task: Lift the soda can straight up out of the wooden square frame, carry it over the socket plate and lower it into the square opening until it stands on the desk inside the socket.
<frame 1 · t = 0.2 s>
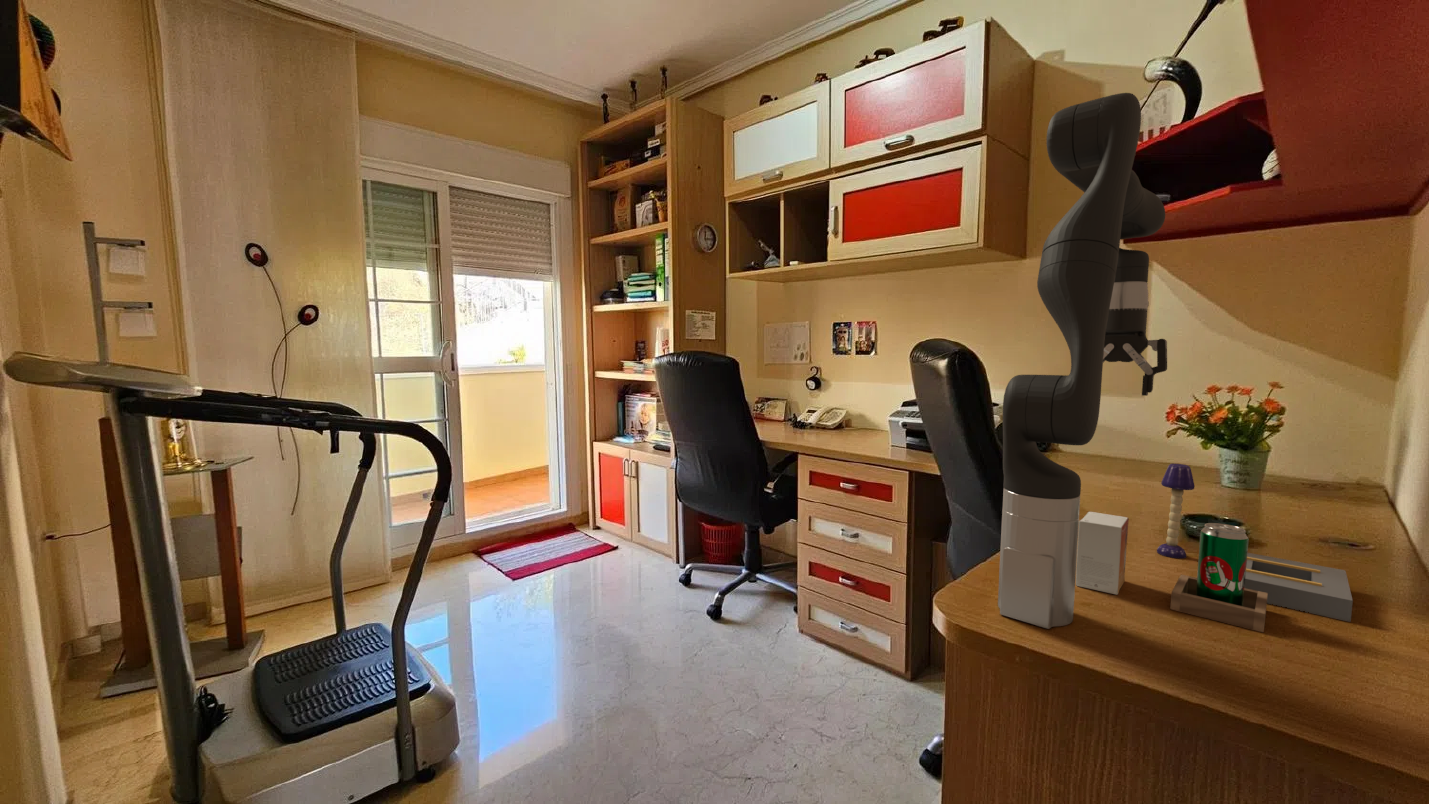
hand: (1117, 394, 109), 29 cm above the table, tool pointing down, fingers open, 8 cm apart
small box: (1100, 584, 91), on the table
soda can: (1218, 611, 81), resting in wooden square frame
wooden square frame: (1218, 609, 81), on the table
toy lamp: (1172, 556, 104), on the table
socket: (1279, 590, 88), on the table
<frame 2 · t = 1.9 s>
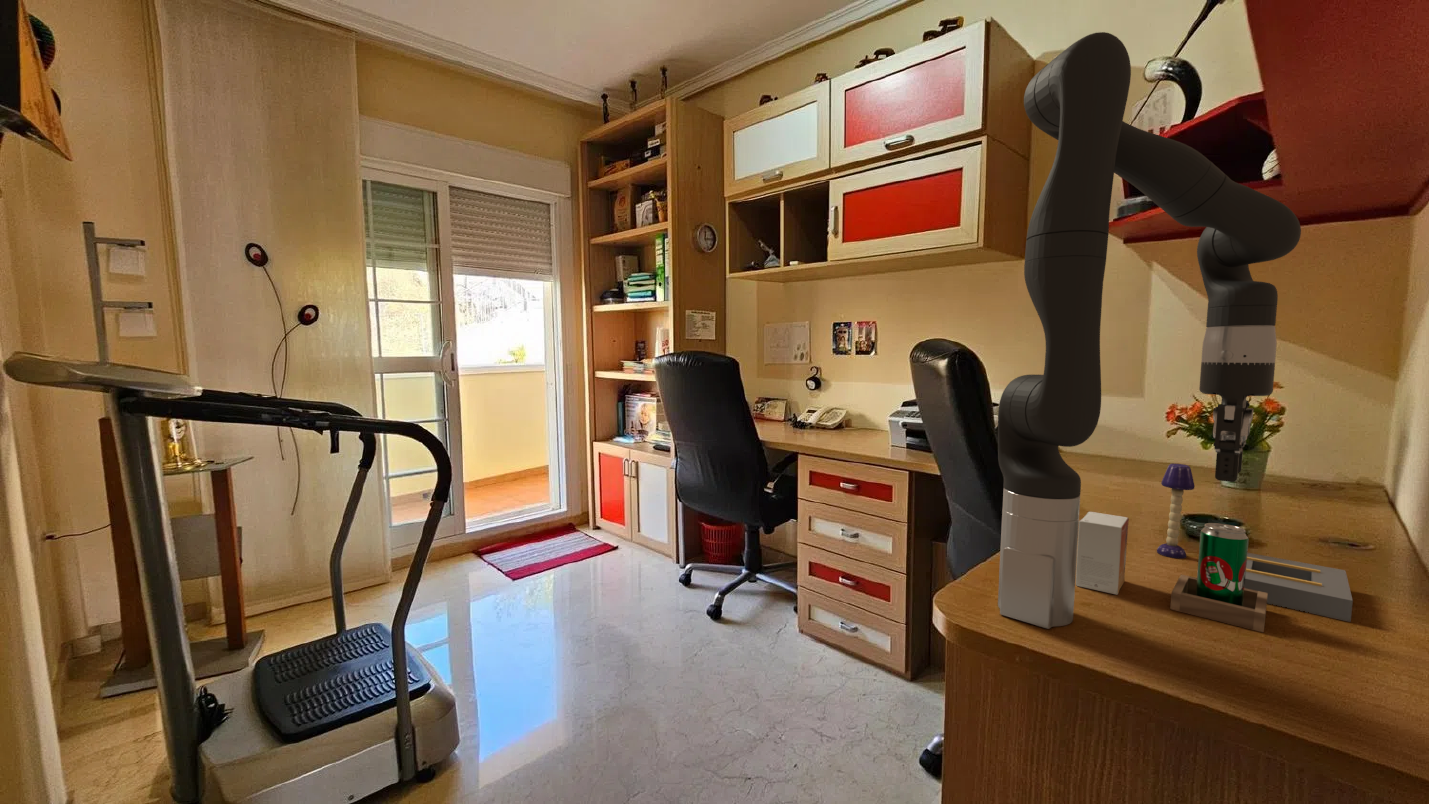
hand: (1228, 476, 80), 19 cm above the table, tool pointing down, fingers open, 8 cm apart
nothing on the table moved.
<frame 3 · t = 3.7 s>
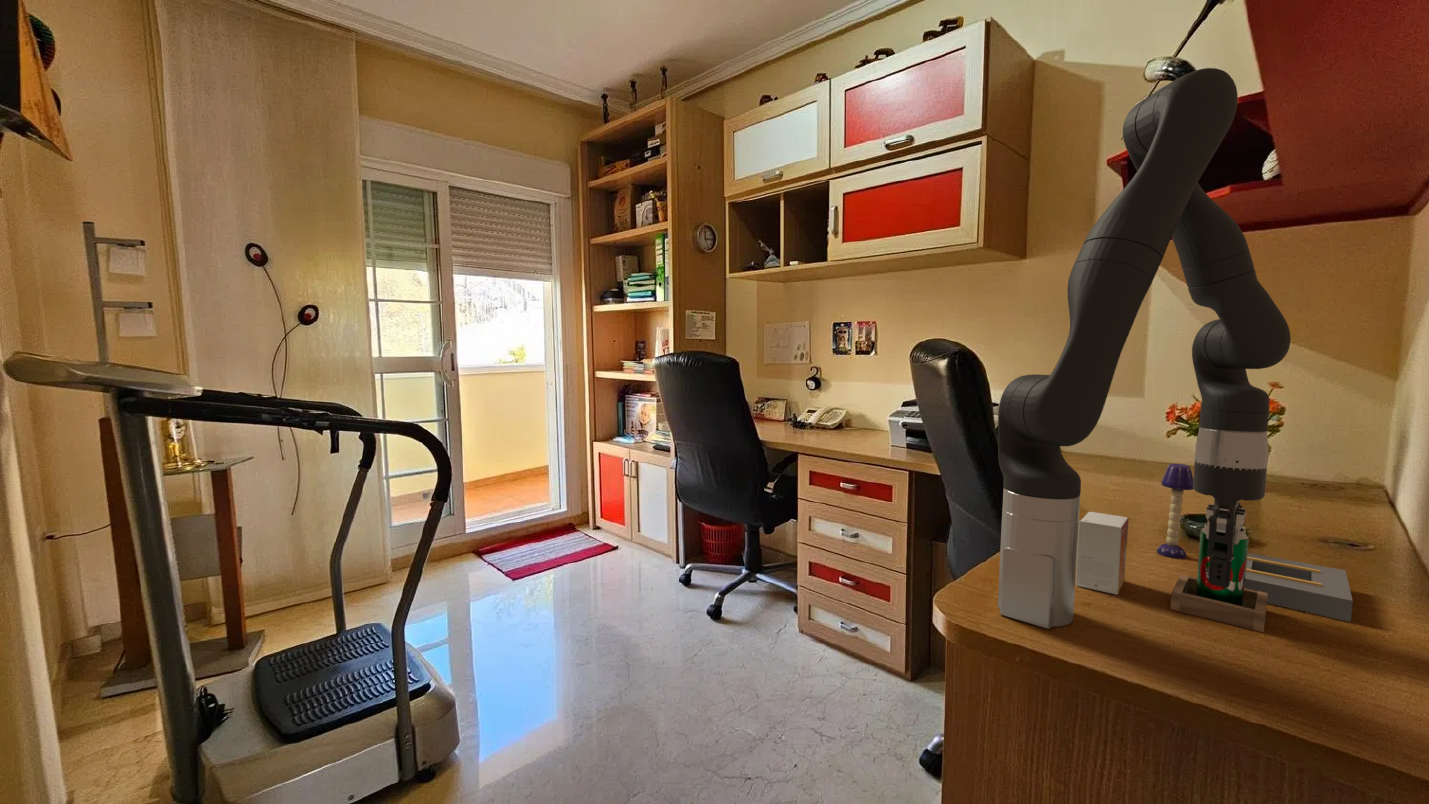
hand: (1220, 579, 81), 4 cm above the table, tool pointing down, fingers closed on soda can, 5 cm apart
soda can: (1218, 610, 81), resting in wooden square frame, touching gripper
everything else where it was.
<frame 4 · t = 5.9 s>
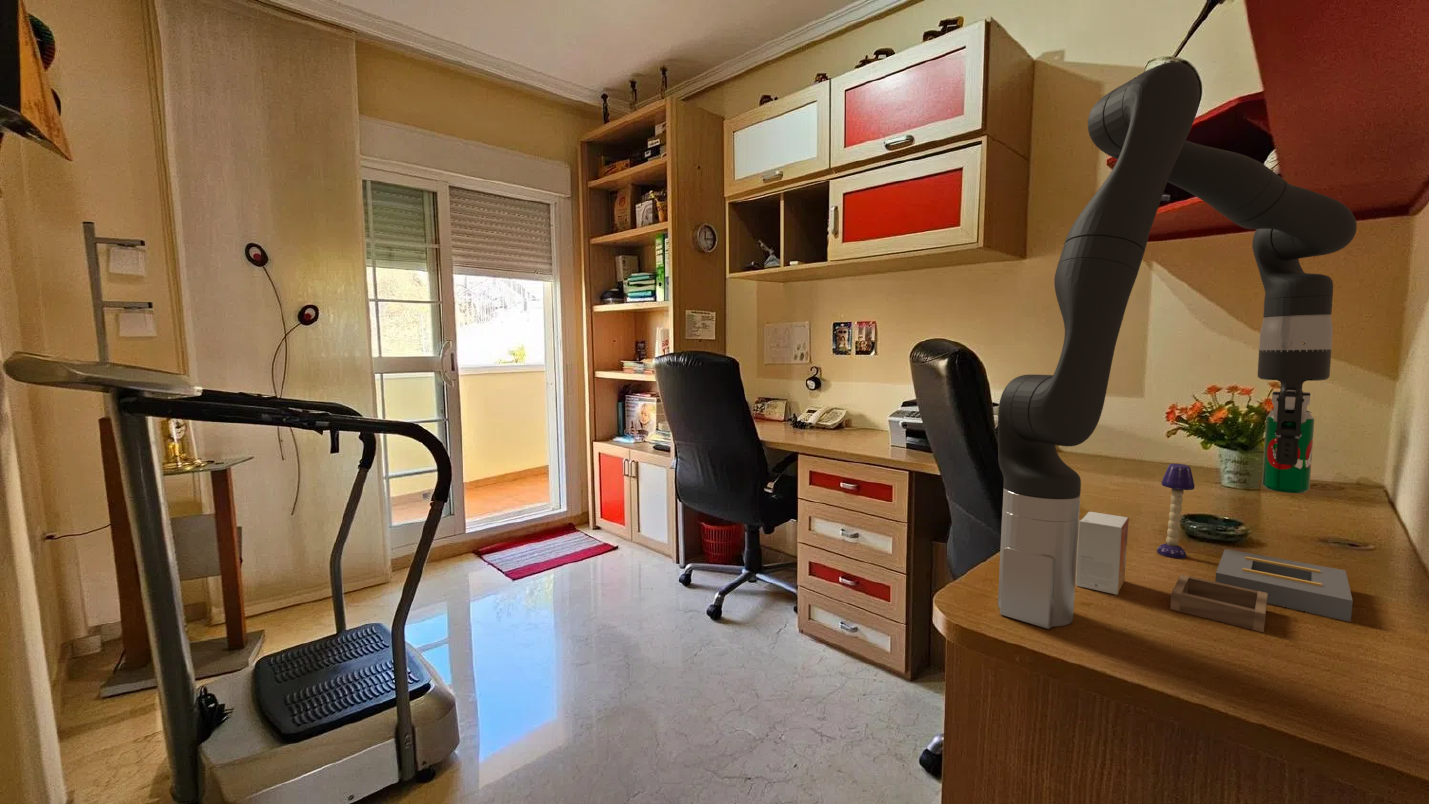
hand: (1286, 460, 86), 20 cm above the table, tool pointing down, fingers closed on soda can, 5 cm apart
soda can: (1284, 491, 86), point 16 cm above the table, touching gripper
everything else where it was.
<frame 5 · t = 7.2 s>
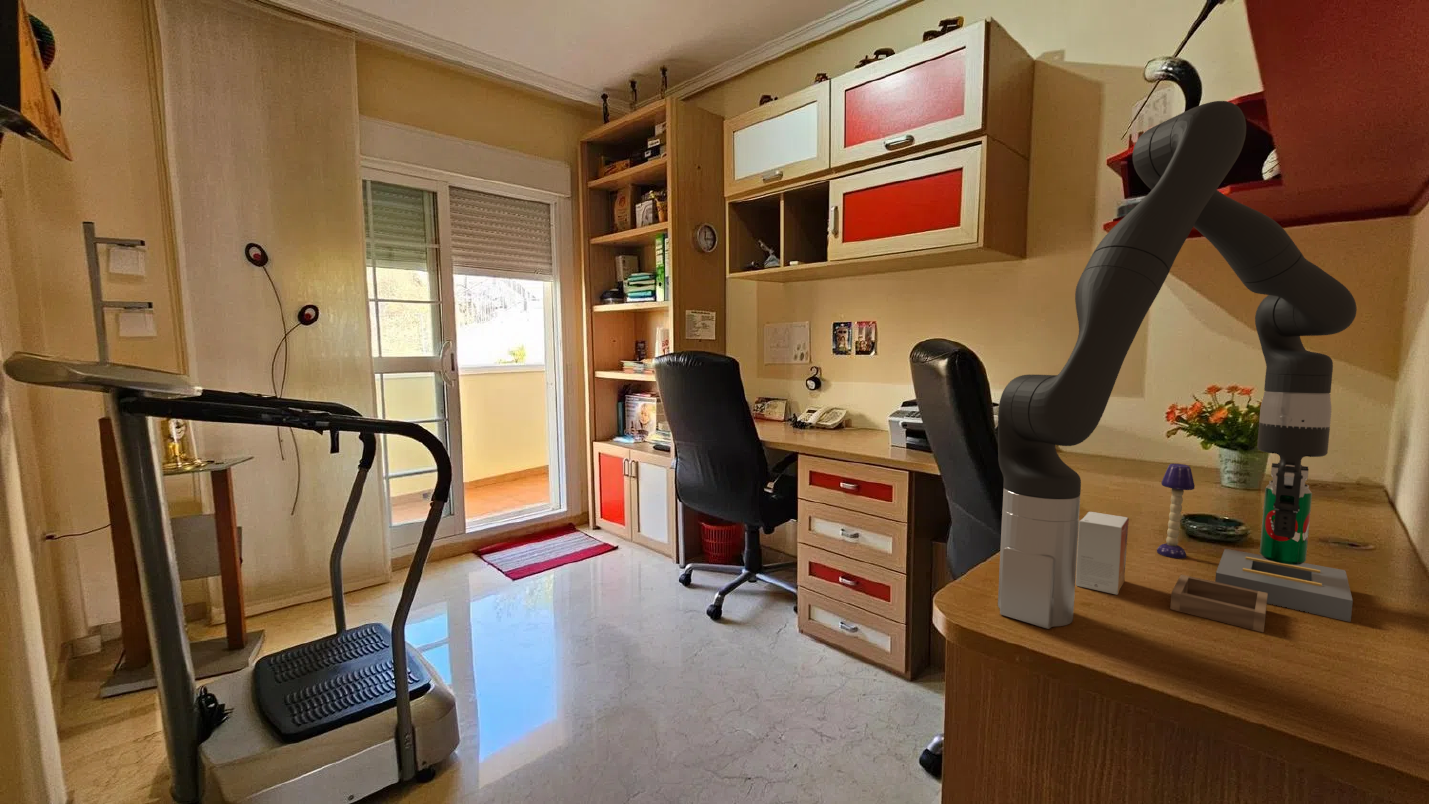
hand: (1284, 531, 88), 9 cm above the table, tool pointing down, fingers closed on soda can, 5 cm apart
soda can: (1281, 561, 88), point 5 cm above the table, touching gripper
everything else where it was.
when the fingers open (5 cm above the table, at t = 8.3 s): soda can stays where it is, resting in socket.
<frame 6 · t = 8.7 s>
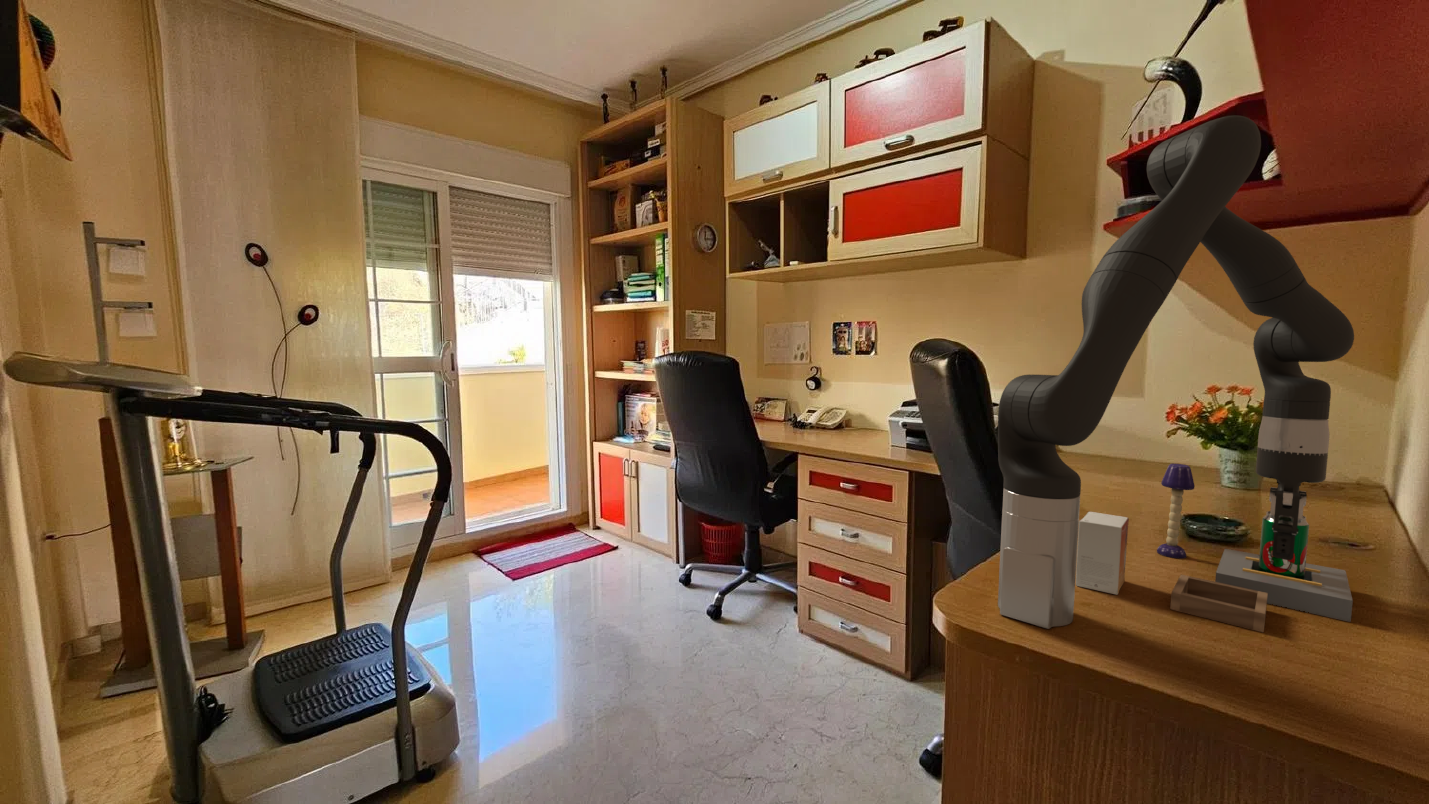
hand: (1282, 551, 88), 6 cm above the table, tool pointing down, fingers open, 8 cm apart
soda can: (1279, 592, 88), resting in socket
everything else where it was.
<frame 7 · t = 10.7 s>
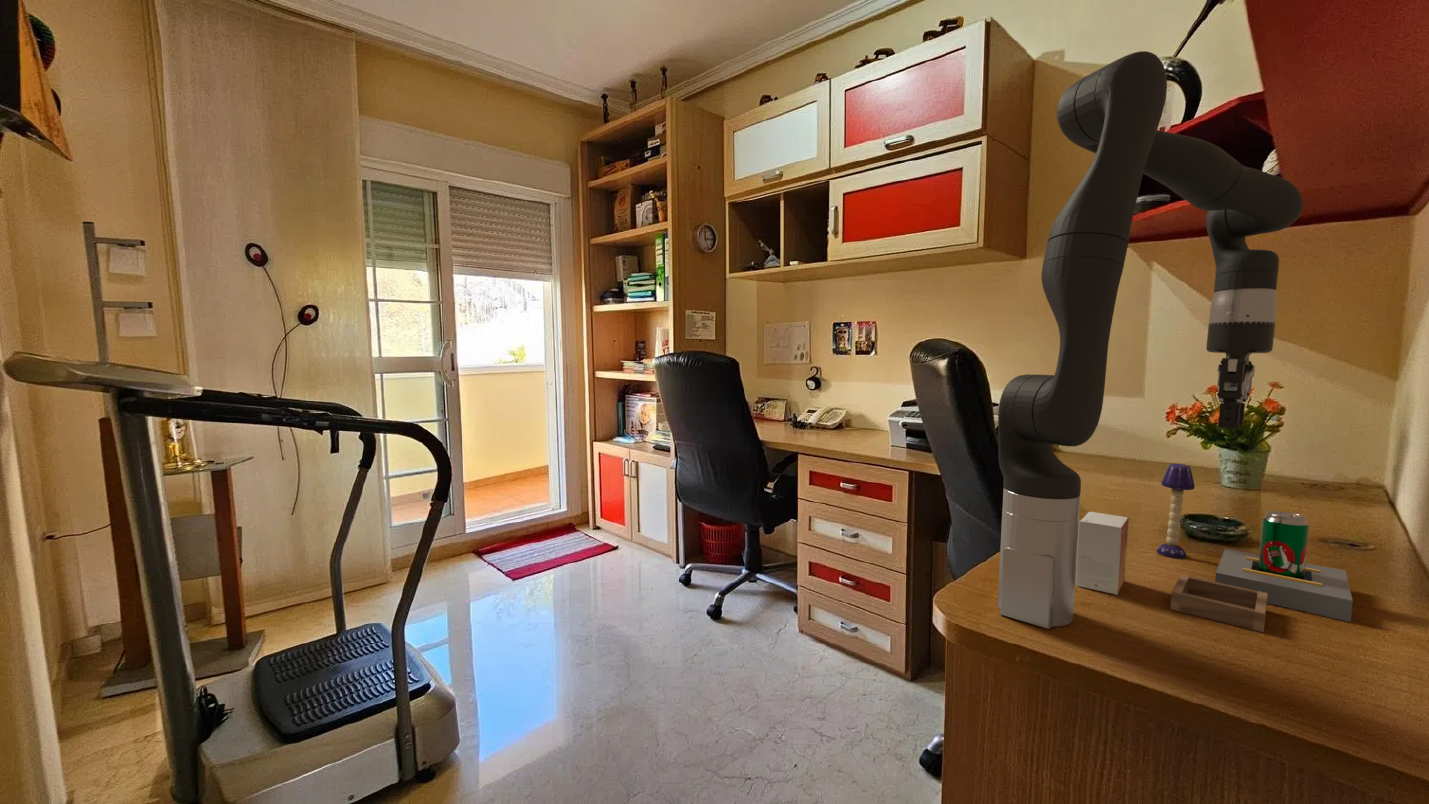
hand: (1230, 426, 88), 25 cm above the table, tool pointing down, fingers open, 8 cm apart
nothing on the table moved.
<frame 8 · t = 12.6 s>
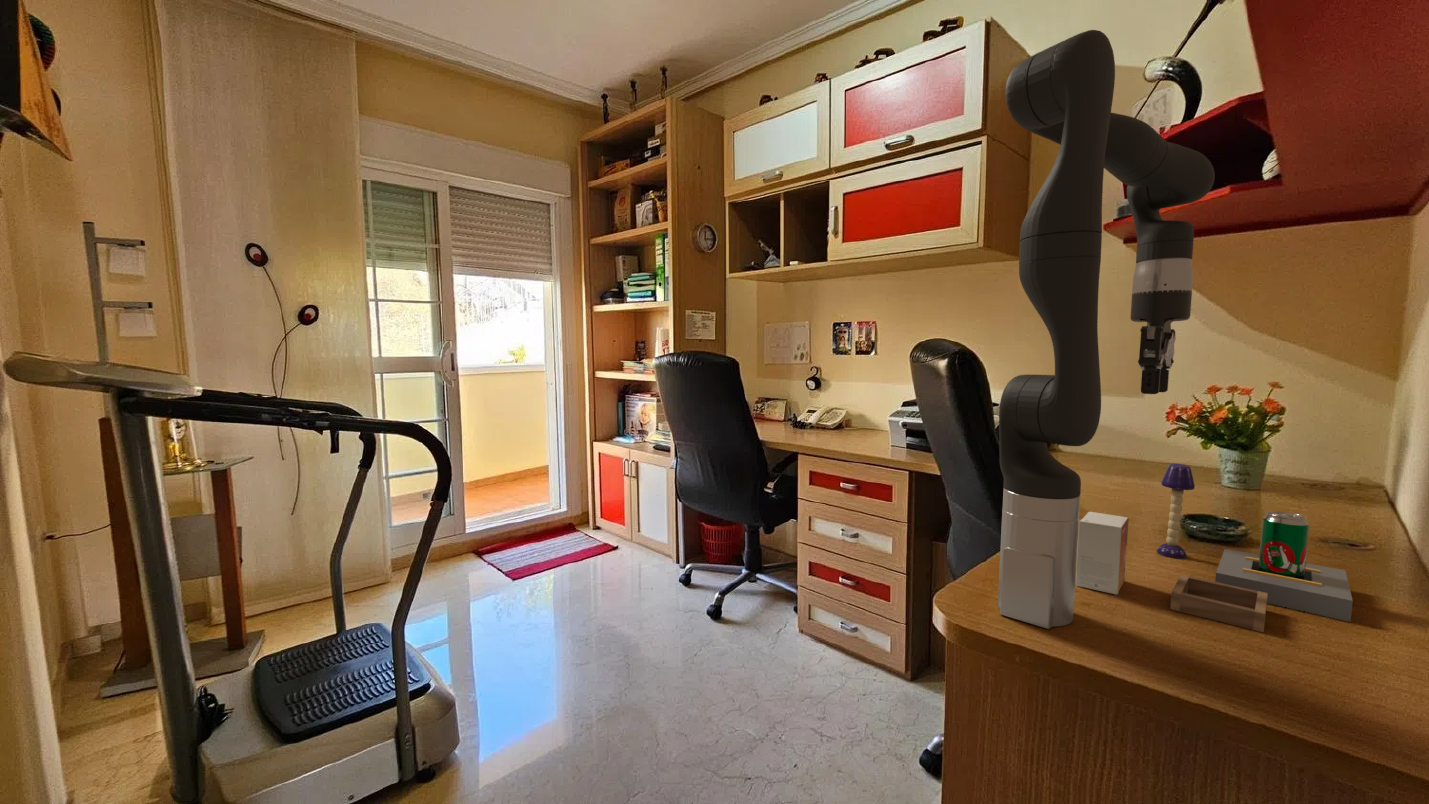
hand: (1154, 393, 92), 30 cm above the table, tool pointing down, fingers open, 8 cm apart
nothing on the table moved.
at the end: soda can 0.2 cm off-centre on the socket, point 0.0 cm above the socket's base; soda can tilted 0°; the gripper is holding nothing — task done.
